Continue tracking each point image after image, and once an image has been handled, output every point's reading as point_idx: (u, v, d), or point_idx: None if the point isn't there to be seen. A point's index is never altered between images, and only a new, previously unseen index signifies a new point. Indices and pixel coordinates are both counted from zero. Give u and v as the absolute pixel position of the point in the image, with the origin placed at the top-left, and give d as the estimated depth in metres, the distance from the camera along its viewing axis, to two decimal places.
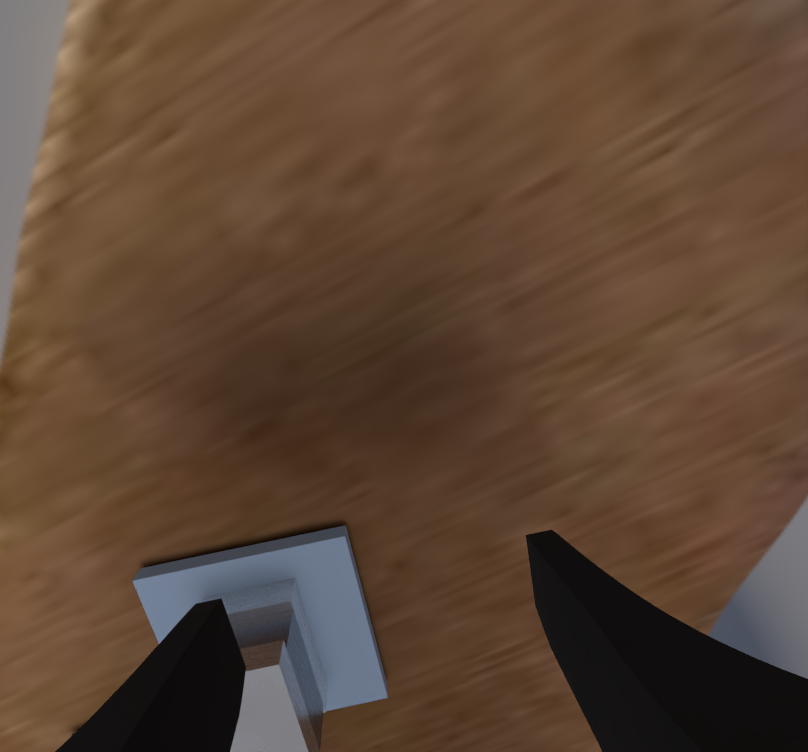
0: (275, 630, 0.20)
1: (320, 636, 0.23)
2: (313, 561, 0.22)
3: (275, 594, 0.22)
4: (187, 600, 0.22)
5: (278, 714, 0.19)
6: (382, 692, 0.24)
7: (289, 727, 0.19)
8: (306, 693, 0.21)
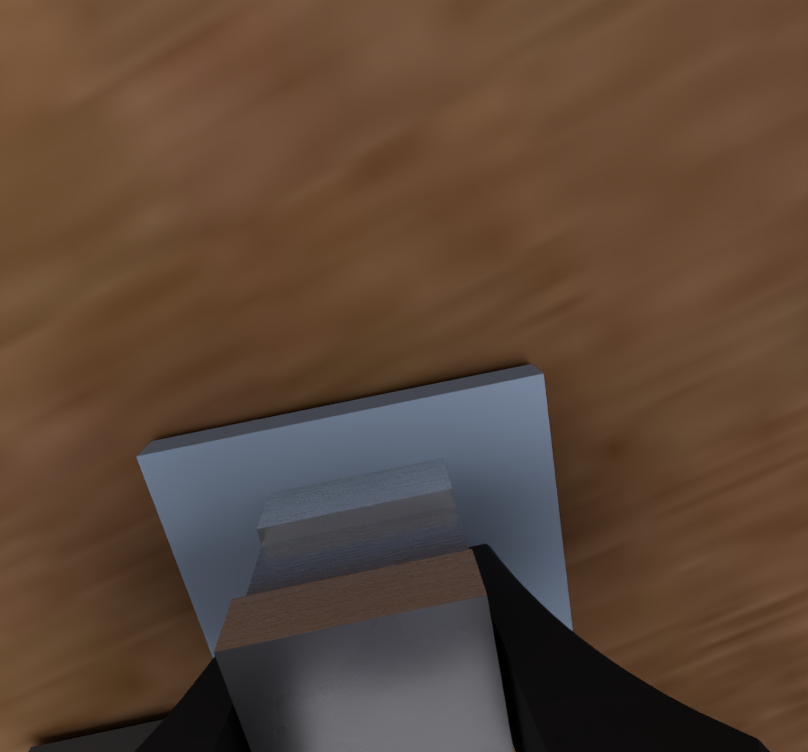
0: (434, 539, 0.10)
1: None
2: (480, 426, 0.12)
3: (413, 480, 0.11)
4: (240, 499, 0.12)
5: (469, 714, 0.08)
6: None
7: (489, 743, 0.08)
8: None
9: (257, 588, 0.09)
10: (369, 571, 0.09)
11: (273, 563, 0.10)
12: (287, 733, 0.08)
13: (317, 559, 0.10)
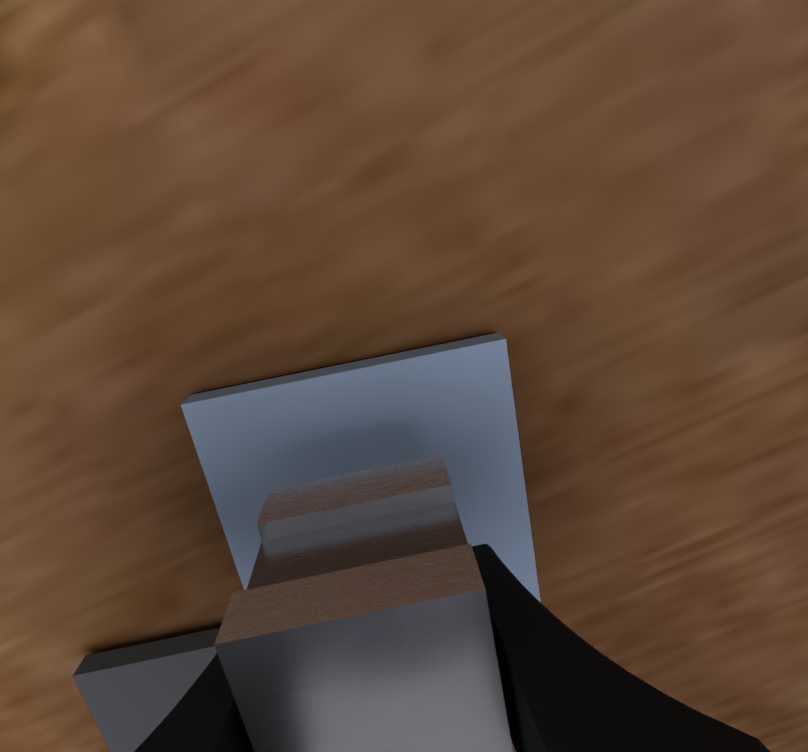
0: (433, 535, 0.10)
1: None
2: (455, 381, 0.15)
3: (413, 476, 0.11)
4: (262, 440, 0.15)
5: (467, 707, 0.08)
6: (534, 595, 0.17)
7: (487, 736, 0.08)
8: None
9: (257, 582, 0.09)
10: (368, 565, 0.09)
11: (273, 558, 0.10)
12: (287, 726, 0.08)
13: (316, 553, 0.10)
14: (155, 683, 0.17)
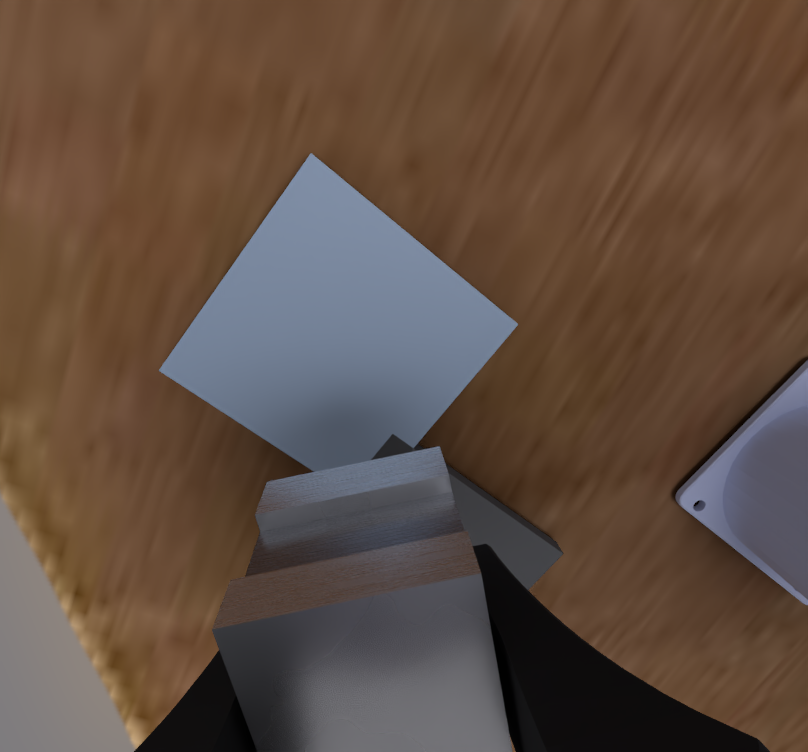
0: (430, 524, 0.10)
1: (387, 300, 0.18)
2: (306, 212, 0.17)
3: (411, 468, 0.11)
4: (225, 354, 0.18)
5: (464, 693, 0.08)
6: (507, 322, 0.19)
7: (484, 723, 0.09)
8: None
9: (255, 571, 0.09)
10: (365, 552, 0.09)
11: (271, 548, 0.10)
12: (284, 711, 0.08)
13: (315, 542, 0.10)
14: None
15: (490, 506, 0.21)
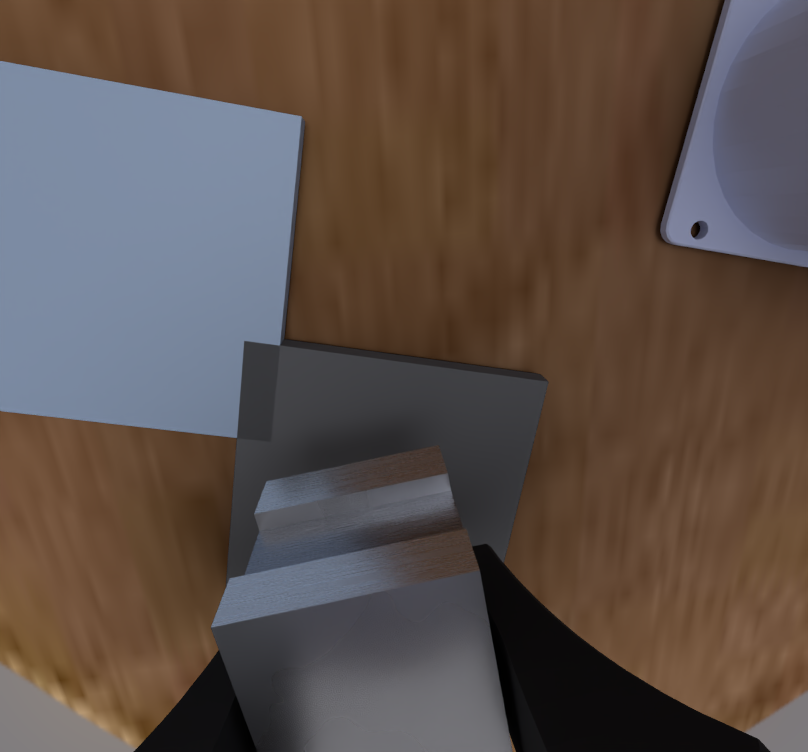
0: (429, 522, 0.10)
1: (125, 179, 0.13)
2: None
3: (410, 466, 0.11)
4: None
5: (464, 691, 0.08)
6: (286, 121, 0.13)
7: (484, 720, 0.08)
8: None
9: (254, 570, 0.09)
10: (364, 551, 0.09)
11: (270, 547, 0.10)
12: (284, 710, 0.08)
13: (314, 542, 0.10)
14: None
15: (419, 368, 0.15)
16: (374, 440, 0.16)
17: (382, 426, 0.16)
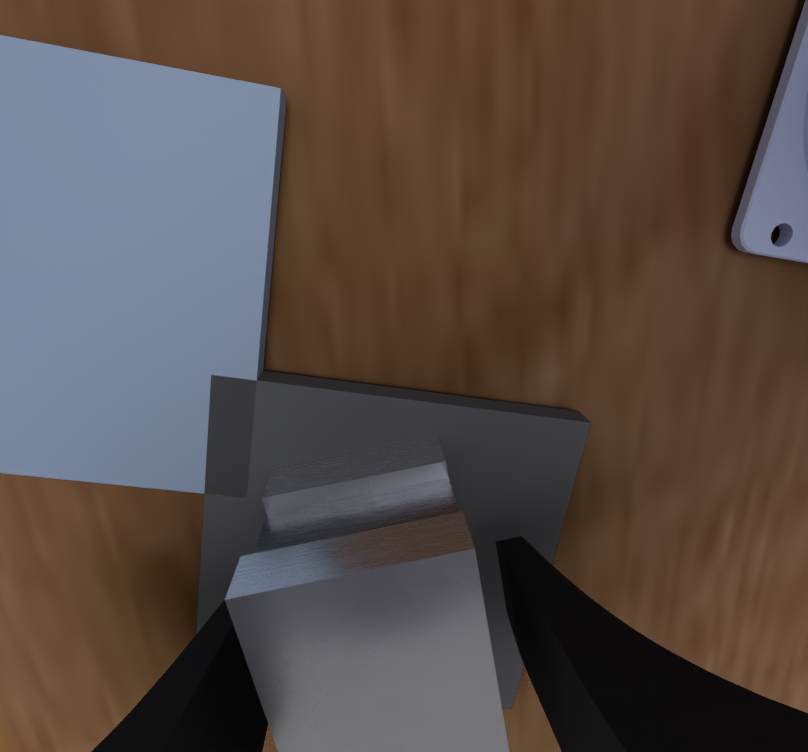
0: (428, 506, 0.10)
1: (52, 169, 0.10)
2: None
3: (410, 455, 0.12)
4: None
5: (459, 661, 0.09)
6: (261, 95, 0.10)
7: (477, 690, 0.09)
8: None
9: (263, 550, 0.10)
10: (367, 531, 0.09)
11: (278, 529, 0.11)
12: (291, 678, 0.09)
13: (318, 524, 0.11)
14: None
15: (431, 407, 0.12)
16: None
17: None
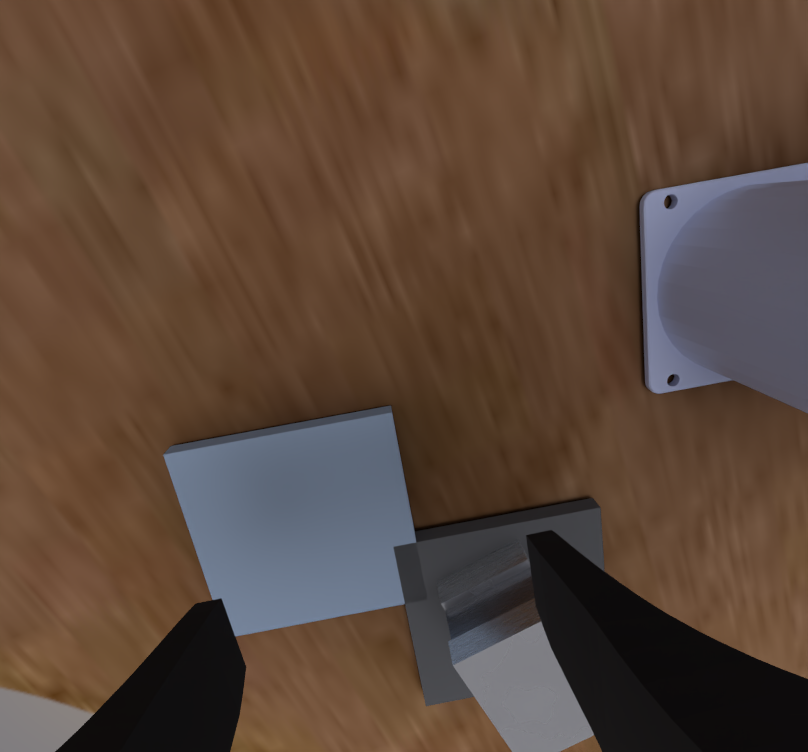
0: (525, 589, 0.20)
1: (297, 482, 0.21)
2: (198, 485, 0.21)
3: (507, 558, 0.22)
4: (248, 597, 0.22)
5: None
6: (383, 418, 0.21)
7: None
8: None
9: (454, 633, 0.20)
10: (502, 614, 0.19)
11: (455, 618, 0.21)
12: (490, 690, 0.19)
13: (475, 611, 0.21)
14: (438, 664, 0.24)
15: (510, 527, 0.22)
16: None
17: None
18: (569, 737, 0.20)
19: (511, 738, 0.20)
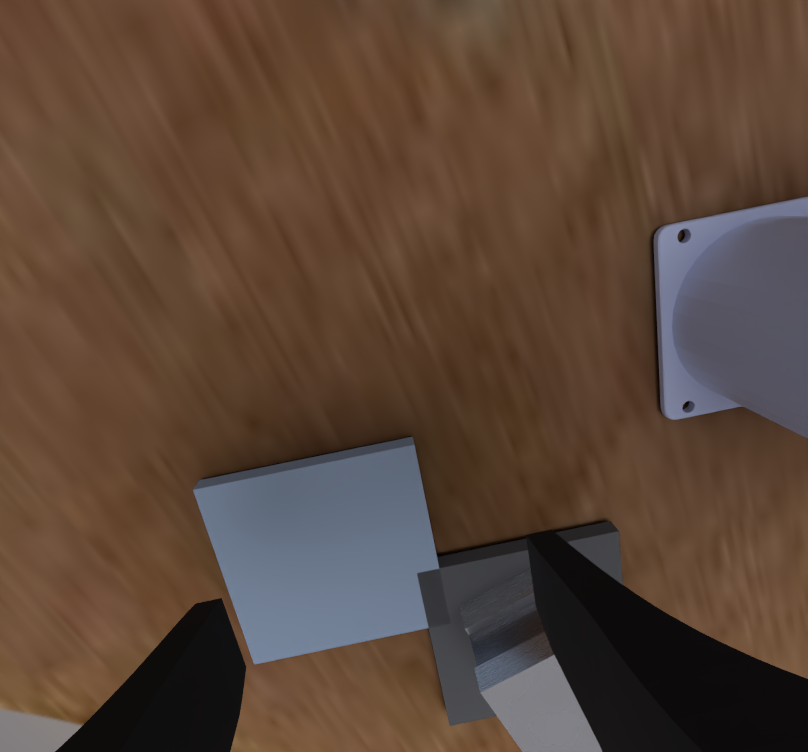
0: None
1: (323, 513, 0.22)
2: (226, 518, 0.21)
3: (529, 582, 0.22)
4: (276, 624, 0.23)
5: None
6: (406, 450, 0.21)
7: None
8: None
9: (479, 658, 0.21)
10: (526, 641, 0.20)
11: (480, 644, 0.22)
12: (516, 715, 0.20)
13: (499, 637, 0.21)
14: (461, 685, 0.25)
15: None
16: None
17: None
18: None
19: None
